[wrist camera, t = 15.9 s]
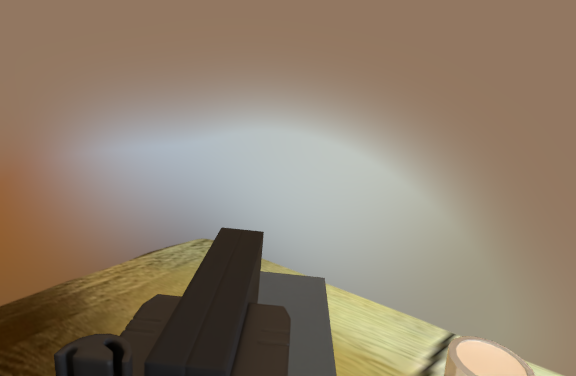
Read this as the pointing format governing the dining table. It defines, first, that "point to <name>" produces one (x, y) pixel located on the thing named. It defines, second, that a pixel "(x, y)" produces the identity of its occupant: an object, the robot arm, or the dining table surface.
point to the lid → (302, 321)
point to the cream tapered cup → (483, 359)
